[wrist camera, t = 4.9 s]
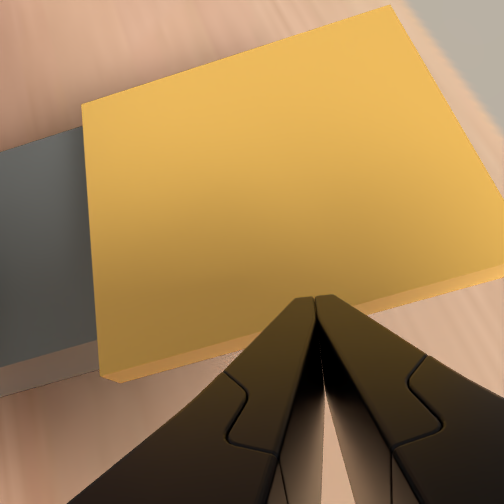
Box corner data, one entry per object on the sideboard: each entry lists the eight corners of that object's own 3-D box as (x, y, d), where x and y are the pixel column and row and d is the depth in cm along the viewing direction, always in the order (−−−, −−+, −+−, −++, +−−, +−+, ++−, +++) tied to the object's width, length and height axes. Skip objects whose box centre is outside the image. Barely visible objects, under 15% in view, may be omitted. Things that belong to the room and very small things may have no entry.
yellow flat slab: (519, 273, 12) (535, 254, 11) (120, 383, 13) (99, 376, 12) (387, 33, 17) (390, 4, 15) (97, 126, 17) (81, 104, 16)
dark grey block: (423, 278, 22) (478, 224, 14) (-129, 433, 24) (-339, 457, 16) (364, 125, 25) (383, 11, 17) (-127, 275, 27) (-306, 233, 19)
